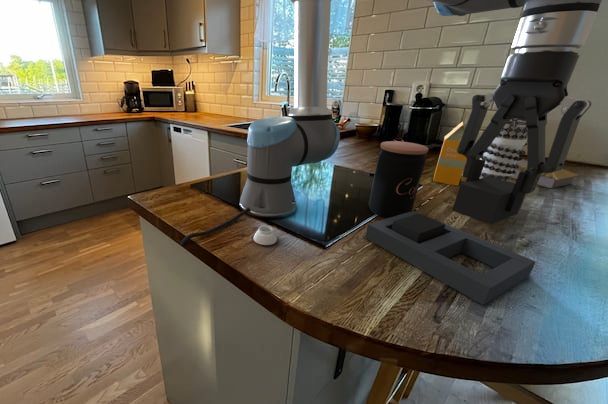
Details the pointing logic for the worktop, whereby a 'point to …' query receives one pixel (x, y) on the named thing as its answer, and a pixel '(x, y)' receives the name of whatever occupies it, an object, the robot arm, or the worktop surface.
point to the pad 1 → (418, 228)
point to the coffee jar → (397, 178)
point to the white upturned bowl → (265, 236)
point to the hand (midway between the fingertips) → (488, 202)
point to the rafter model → (547, 176)
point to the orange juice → (451, 158)
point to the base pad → (437, 264)
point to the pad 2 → (485, 199)
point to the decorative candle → (505, 151)
